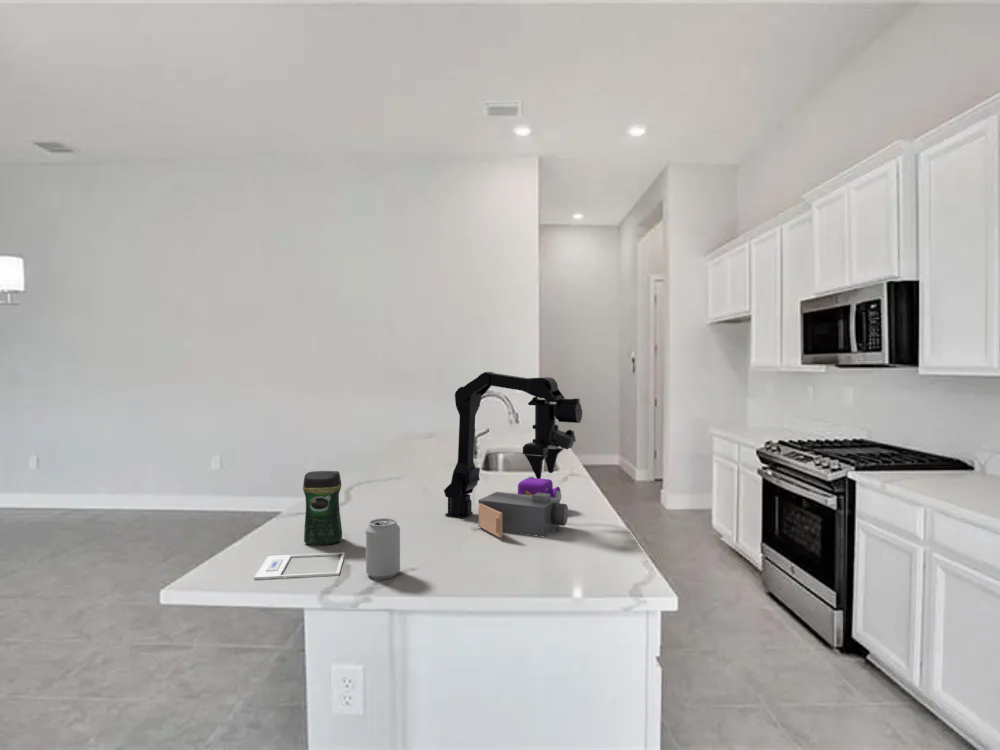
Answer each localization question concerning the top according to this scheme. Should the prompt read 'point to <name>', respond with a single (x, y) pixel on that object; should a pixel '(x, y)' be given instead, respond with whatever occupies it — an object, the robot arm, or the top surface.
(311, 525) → the coffee jar
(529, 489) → the toy camera
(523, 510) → the block
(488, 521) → the side door
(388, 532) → the can
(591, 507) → the top surface
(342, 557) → the photo frame
